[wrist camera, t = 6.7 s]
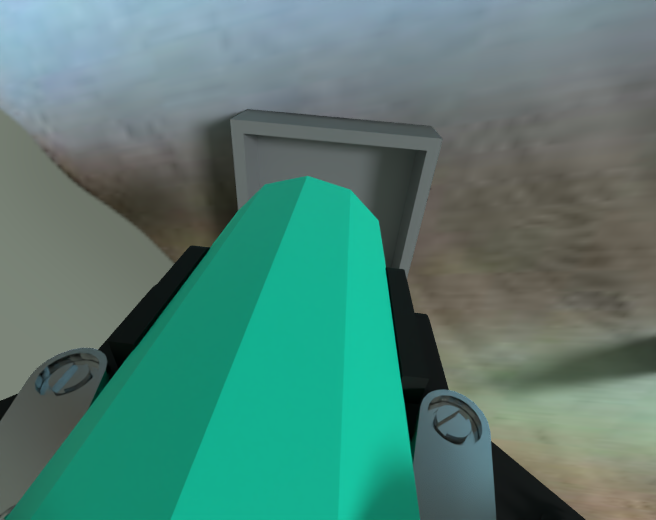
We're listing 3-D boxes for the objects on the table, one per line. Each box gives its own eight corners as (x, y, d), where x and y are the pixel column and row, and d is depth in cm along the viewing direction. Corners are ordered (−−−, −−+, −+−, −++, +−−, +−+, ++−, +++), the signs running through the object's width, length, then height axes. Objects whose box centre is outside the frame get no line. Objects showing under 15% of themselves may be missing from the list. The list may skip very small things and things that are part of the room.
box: (247, 109, 24) (229, 119, 21) (431, 125, 24) (442, 139, 20) (256, 260, 32) (244, 285, 28) (396, 275, 31) (400, 302, 28)
